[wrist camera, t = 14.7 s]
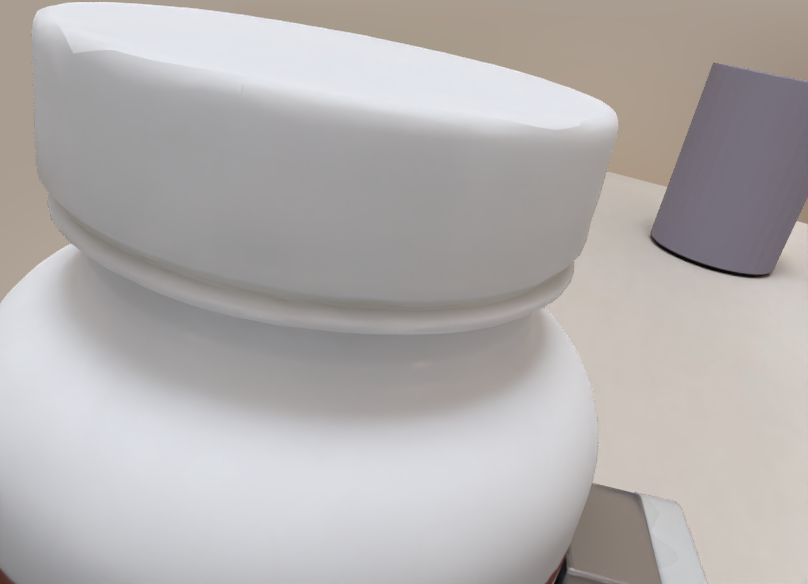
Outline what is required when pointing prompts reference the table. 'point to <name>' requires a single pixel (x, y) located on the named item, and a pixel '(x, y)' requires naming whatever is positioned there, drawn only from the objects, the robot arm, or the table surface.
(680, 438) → the table surface
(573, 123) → the pill bottle
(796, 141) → the container
